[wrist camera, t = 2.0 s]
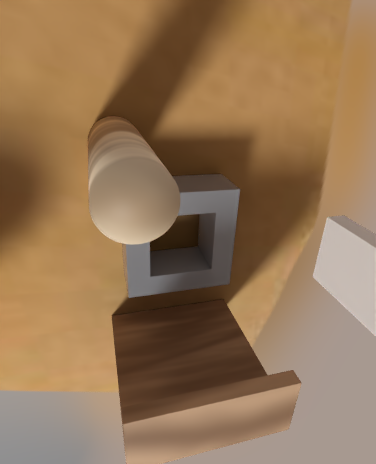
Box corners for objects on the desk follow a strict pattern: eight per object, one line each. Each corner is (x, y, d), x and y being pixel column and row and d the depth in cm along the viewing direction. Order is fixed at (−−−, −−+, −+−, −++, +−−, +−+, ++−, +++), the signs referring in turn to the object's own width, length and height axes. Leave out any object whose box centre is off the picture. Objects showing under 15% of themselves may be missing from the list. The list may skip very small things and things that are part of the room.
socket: (118, 178, 29) (123, 196, 25) (221, 173, 32) (240, 189, 28) (123, 270, 34) (128, 297, 30) (214, 260, 36) (229, 284, 32)
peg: (85, 115, 26) (84, 161, 14) (140, 116, 28) (181, 157, 16) (90, 169, 28) (93, 248, 16) (141, 167, 29) (179, 240, 17)
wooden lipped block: (109, 285, 34) (123, 424, 21) (226, 270, 37) (301, 382, 24) (112, 326, 37) (127, 472, 24) (222, 309, 40) (288, 429, 27)
